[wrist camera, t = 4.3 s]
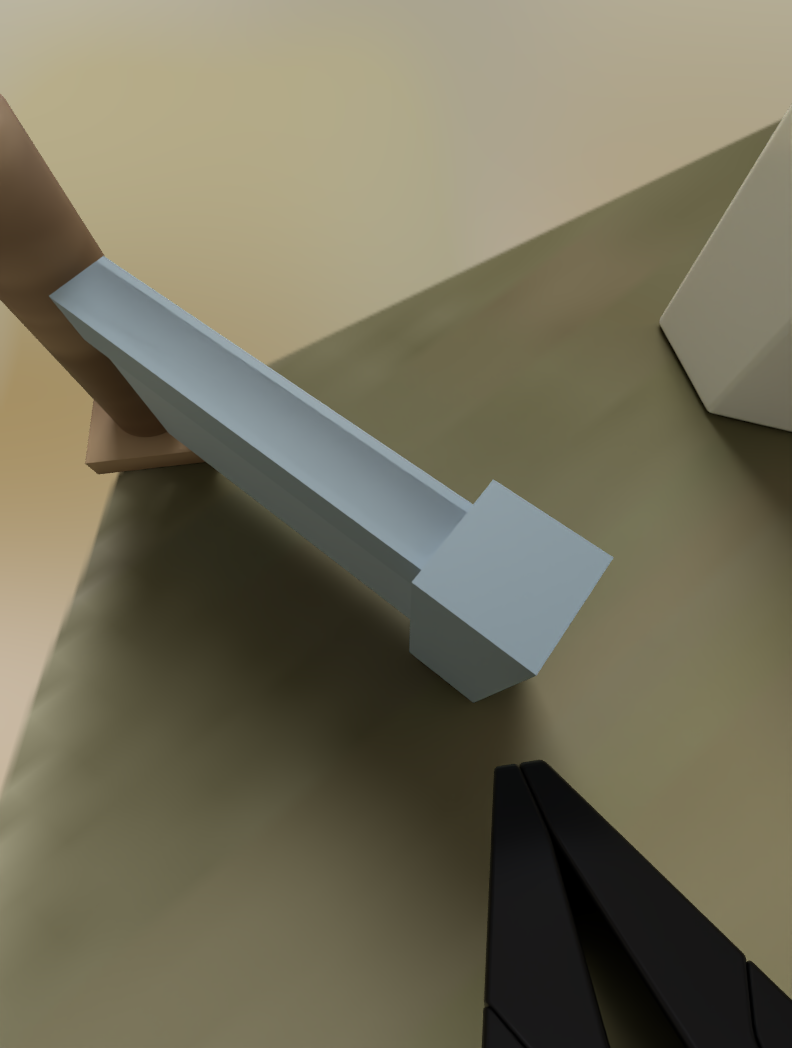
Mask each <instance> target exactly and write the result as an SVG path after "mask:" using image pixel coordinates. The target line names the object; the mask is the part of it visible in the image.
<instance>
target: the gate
mask: <svg viewBox="0 0 792 1048" xmlns="http://www.w3.org/2000/svg"><path fill="white" fill-rule="evenodd" d="M49 297H50V298H51V300H52V301H53V302H54V303H55V305H56V306H57V307H58V308H59V309H60V311H61V312H62V313H63V314H64V315H65V317H66V318H67V319H68V320H69V322H70V323H71V324H72V325H73V326H74V328H75V329H76V330H77V331H78V333H79V334H80V335H81V336H82V337H83V339H84V340H85V341H87V342H88V343H89V344H91V345H92V346H93V347H95V348H96V349H97V350H99V351H100V352H101V353H103V354H104V355H105V356H107V357H108V358H109V359H110V360H111V361H112V362H113V364H114V365H115V366H116V367H117V369H118V370H119V371H120V372H121V374H122V375H123V376H124V378H125V379H126V380H127V381H128V383H129V384H130V385H131V386H132V388H133V389H134V390H135V391H136V393H137V394H138V395H139V396H140V398H141V399H142V400H143V401H144V403H145V404H146V405H147V406H148V408H149V409H150V410H151V412H152V413H153V414H154V415H155V417H156V418H157V419H158V420H159V422H160V423H161V424H162V425H163V427H164V428H165V429H166V430H167V432H168V433H169V434H170V435H172V436H173V437H174V438H176V439H177V440H178V441H179V442H181V443H182V444H183V445H185V446H186V447H187V448H189V449H190V450H191V451H192V452H194V453H195V454H196V455H198V456H199V457H200V458H201V459H203V460H204V461H205V462H207V463H208V464H209V465H211V466H212V467H213V468H214V469H216V470H217V471H218V472H220V473H221V474H222V475H224V476H225V477H226V478H227V479H229V480H230V481H231V482H233V483H234V484H235V485H237V486H238V487H239V488H240V489H242V490H243V491H244V492H246V493H247V494H248V495H249V496H251V497H252V498H253V499H255V500H256V501H257V502H259V503H260V504H261V505H262V506H264V507H265V508H266V509H268V510H269V511H270V512H272V513H273V514H274V515H275V516H277V517H278V518H279V519H281V520H282V521H283V522H285V523H286V524H287V525H288V526H290V527H291V528H292V529H294V530H295V531H296V532H298V533H299V534H300V535H301V536H303V537H304V538H305V539H307V540H308V541H309V542H310V543H312V544H313V545H314V546H316V547H317V548H318V549H320V550H321V551H322V552H323V553H325V554H326V555H327V556H329V557H330V558H331V559H333V560H334V561H335V562H336V563H338V564H339V565H340V566H342V567H343V568H344V569H346V570H347V571H348V572H349V573H351V574H352V575H353V576H355V577H356V578H357V579H358V580H360V581H361V582H362V583H364V584H365V585H366V586H368V587H369V588H370V589H371V590H373V591H374V592H375V593H377V594H378V595H379V596H381V597H382V598H383V599H384V600H386V601H387V602H388V603H390V604H391V605H392V606H394V607H395V608H396V609H397V610H399V611H400V612H401V613H403V614H404V615H405V616H406V617H408V618H409V619H410V641H409V652H410V653H411V654H412V655H414V656H415V657H416V658H417V659H419V660H420V661H421V662H422V663H424V664H425V665H426V666H427V667H429V668H430V669H431V670H433V671H434V672H435V673H436V674H438V675H439V676H440V677H441V678H443V679H444V680H445V681H446V682H448V683H449V684H450V685H451V686H453V687H454V688H455V689H457V690H458V691H459V692H460V693H462V694H463V695H464V696H465V697H467V698H468V699H469V700H470V701H472V702H473V703H474V702H477V701H479V700H481V699H483V698H486V697H488V696H490V695H493V694H495V693H497V692H500V691H502V690H504V689H506V688H509V687H511V686H513V685H516V684H518V683H520V682H522V681H525V680H527V679H529V678H532V677H534V676H536V675H537V674H538V672H539V671H540V669H541V668H542V666H543V665H544V663H545V661H546V660H547V658H548V657H549V655H550V654H551V652H552V651H553V649H554V648H555V646H556V645H557V643H558V642H559V640H560V639H561V637H562V635H563V634H564V632H565V631H566V629H567V628H568V626H569V625H570V623H571V622H572V620H573V619H574V617H575V616H576V614H577V613H578V611H579V610H580V608H581V606H582V605H583V603H584V602H585V600H586V599H587V597H588V596H589V594H590V593H591V591H592V590H593V588H594V587H595V585H596V584H597V582H598V581H599V579H600V577H601V576H602V574H603V573H604V571H605V570H606V568H607V567H608V565H609V564H610V562H611V561H612V559H613V557H612V556H610V555H609V554H607V553H606V552H604V551H603V550H601V549H600V548H598V547H597V546H595V545H593V544H592V543H590V542H589V541H587V540H586V539H584V538H583V537H581V536H580V535H578V534H577V533H575V532H573V531H572V530H570V529H569V528H567V527H566V526H564V525H563V524H561V523H560V522H558V521H556V520H555V519H553V518H552V517H550V516H549V515H547V514H546V513H544V512H543V511H541V510H540V509H538V508H536V507H535V506H533V505H532V504H530V503H529V502H527V501H526V500H524V499H523V498H521V497H520V496H518V495H516V494H515V493H513V492H512V491H510V490H509V489H507V488H506V487H504V486H503V485H501V484H500V483H498V482H496V481H495V480H492V482H491V483H490V484H489V486H488V487H487V488H486V489H485V491H484V492H483V493H482V494H481V496H480V497H479V498H478V499H477V501H476V502H475V503H474V504H471V503H470V502H468V501H467V500H465V499H464V498H463V497H461V496H460V495H458V494H457V493H455V492H454V491H452V490H451V489H449V488H448V487H446V486H445V485H443V484H442V483H440V482H439V481H437V480H436V479H434V478H433V477H431V476H430V475H428V474H427V473H425V472H424V471H422V470H421V469H419V468H418V467H416V466H415V465H413V464H412V463H410V462H409V461H407V460H406V459H405V458H403V457H402V456H400V455H399V454H397V453H396V452H394V451H393V450H391V449H390V448H388V447H387V446H385V445H384V444H382V443H381V442H379V441H378V440H376V439H375V438H373V437H372V436H370V435H369V434H367V433H366V432H364V431H363V430H361V429H360V428H358V427H357V426H355V425H354V424H352V423H351V422H350V421H348V420H347V419H345V418H344V417H342V416H341V415H339V414H338V413H336V412H335V411H333V410H332V409H330V408H329V407H327V406H326V405H324V404H323V403H321V402H320V401H318V400H317V399H315V398H314V397H312V396H311V395H309V394H308V393H306V392H305V391H303V390H302V389H300V388H299V387H297V386H296V385H295V384H293V383H292V382H290V381H289V380H287V379H286V378H284V377H283V376H281V375H280V374H278V373H277V372H275V371H274V370H272V369H271V368H269V367H268V366H266V365H265V364H263V363H262V362H260V361H259V360H257V359H256V358H254V357H253V356H251V355H250V354H248V353H247V352H245V351H244V350H242V349H241V348H239V347H238V346H237V345H235V344H234V343H232V342H231V341H229V340H228V339H226V338H224V337H223V336H222V335H220V334H219V333H217V332H216V331H214V330H213V329H211V328H210V327H208V326H207V325H205V324H204V323H202V322H201V321H199V320H198V319H196V318H195V317H193V316H192V315H190V314H189V313H187V312H186V311H184V310H183V309H181V308H180V307H178V306H177V305H175V304H174V303H173V302H171V301H170V300H168V299H167V298H165V297H164V296H162V295H161V294H159V293H158V292H156V291H155V290H153V289H152V288H150V287H149V286H147V285H146V284H144V283H143V282H141V281H140V280H138V279H137V278H135V277H134V276H132V275H131V274H129V273H128V272H126V271H125V270H124V269H122V268H121V267H119V266H117V265H116V264H114V263H113V262H111V261H110V260H109V259H107V258H106V257H104V256H102V257H101V258H100V259H98V260H97V261H96V262H94V263H93V264H92V265H90V266H89V267H87V268H86V269H85V270H83V271H82V272H81V273H79V274H78V275H77V276H75V277H74V278H72V279H71V280H70V281H68V282H67V283H66V284H64V285H63V286H62V287H60V288H59V289H57V290H56V291H55V292H53V293H52V294H51V295H49Z"/></svg>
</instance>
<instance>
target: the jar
mask: <svg viewBox="0 0 792 1048" xmlns="http://www.w3.org/2000/svg"><path fill="white" fill-rule="evenodd" d="M659 322H660V326H661V328H662V330H663V332H664V333H665V335H666V337H667V339H668V341H669V342H670V344H671V346H672V348H673V350H674V351H675V353H676V355H677V357H678V359H679V361H680V362H681V364H682V366H683V368H684V370H685V371H686V373H687V375H688V377H689V379H690V381H691V382H692V384H693V386H694V388H695V390H696V391H697V393H698V395H699V397H700V399H701V401H702V402H703V404H704V406H705V408H706V410H707V411H708V412H710V413H713V414H717V415H721V416H726V417H730V418H734V419H738V420H743V421H747V422H751V423H756V424H760V425H764V426H768V427H773V428H777V429H781V430H786V431H790V432H792V104H791V106H790V107H789V109H788V111H787V112H786V114H785V116H784V117H783V119H782V120H781V122H780V124H779V125H778V127H777V129H776V130H775V132H774V133H773V135H772V137H771V138H770V140H769V142H768V143H767V145H766V146H765V148H764V150H763V151H762V153H761V155H760V156H759V158H758V160H757V161H756V163H755V164H754V166H753V168H752V169H751V171H750V173H749V174H748V176H747V177H746V179H745V181H744V182H743V184H742V186H741V187H740V189H739V191H738V192H737V194H736V195H735V197H734V199H733V200H732V202H731V204H730V205H729V207H728V208H727V210H726V212H725V213H724V215H723V217H722V218H721V220H720V222H719V223H718V225H717V226H716V228H715V230H714V231H713V233H712V235H711V236H710V238H709V239H708V241H707V243H706V244H705V246H704V248H703V249H702V251H701V253H700V254H699V256H698V257H697V259H696V261H695V262H694V264H693V266H692V267H691V269H690V270H689V272H688V274H687V275H686V277H685V279H684V280H683V282H682V284H681V285H680V287H679V288H678V290H677V292H676V293H675V295H674V297H673V298H672V300H671V301H670V303H669V305H668V306H667V308H666V310H665V311H664V313H663V315H662V316H661V318H660V321H659Z"/></svg>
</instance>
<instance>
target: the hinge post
mask: <svg viewBox="0 0 792 1048" xmlns="http://www.w3.org/2000/svg"><path fill="white" fill-rule="evenodd" d="M102 256H104V254H103V253H102V251H101V249H100V248H99V246H98V245H97V243H96V242H95V240H94V238H93V237H92V235H91V234H90V232H89V230H88V229H87V227H86V226H85V224H84V223H83V221H82V219H81V218H80V216H79V215H78V213H77V212H76V210H75V208H74V207H73V205H72V204H71V202H70V201H69V199H68V197H67V196H66V194H65V193H64V191H63V190H62V188H61V186H60V185H59V183H58V182H57V180H56V179H55V177H54V175H53V174H52V172H51V171H50V169H49V167H48V166H47V164H46V163H45V161H44V160H43V158H42V156H41V155H40V153H39V152H38V150H37V149H36V147H35V145H34V144H33V142H32V141H31V139H30V137H29V136H28V134H27V133H26V131H25V129H24V128H23V126H22V125H21V123H20V122H19V120H18V118H17V117H16V115H15V114H14V112H13V111H12V109H11V108H10V106H9V104H8V103H7V101H6V99H5V98H4V97H3V96H2V95H1V94H0V300H1V301H2V302H3V303H4V304H5V305H6V306H7V307H8V309H10V311H11V312H12V313H13V314H14V315H15V316H16V317H17V318H18V319H19V320H20V321H21V322H22V323H23V324H24V326H25V327H27V329H28V330H29V331H30V332H31V333H32V334H33V335H34V336H35V337H36V338H37V339H38V340H39V342H40V343H41V344H42V345H43V346H44V347H45V348H46V349H47V350H48V351H49V352H50V353H51V354H52V355H53V356H54V357H55V359H56V360H57V361H58V362H59V363H60V364H61V365H62V366H63V367H64V368H65V369H66V370H67V371H68V372H69V373H70V375H71V376H72V377H73V378H74V379H75V380H76V381H77V382H78V383H79V384H80V385H81V386H82V387H83V388H84V389H85V390H86V392H87V393H88V394H89V395H90V396H91V397H92V398H93V399H94V401H93V409H92V416H91V424H90V432H89V439H88V446H87V454H86V462H85V463H86V464H87V465H88V466H89V467H90V468H91V469H92V470H94V471H95V472H96V473H97V474H105V473H114V472H123V471H131V470H140V469H149V468H158V467H166V466H175V465H184V464H193V463H201V462H205V461H204V460H203V459H201V458H200V457H199V456H198V455H196V454H195V453H194V452H192V451H191V450H190V449H189V448H187V447H186V446H185V445H183V444H182V443H181V442H179V441H178V440H177V439H176V438H174V437H173V436H172V435H170V434H169V433H168V432H167V430H166V429H165V428H164V427H163V425H162V424H161V423H160V422H159V420H158V419H157V418H156V417H155V415H154V414H153V413H152V412H151V410H150V409H149V408H148V406H147V405H146V404H145V403H144V401H143V400H142V399H141V398H140V396H139V395H138V394H137V393H136V391H135V390H134V389H133V388H132V386H131V385H130V384H129V383H128V381H127V380H126V379H125V378H124V376H123V375H122V374H121V372H120V371H119V370H118V369H117V367H116V366H115V365H114V364H113V362H112V361H111V360H110V359H109V358H108V357H107V356H105V355H104V354H103V353H101V352H100V351H99V350H97V349H96V348H95V347H93V346H92V345H91V344H89V343H88V342H87V341H85V340H84V339H83V337H82V336H81V335H80V334H79V333H78V331H77V330H76V329H75V328H74V326H73V325H72V324H71V323H70V322H69V320H68V319H67V318H66V317H65V315H64V314H63V313H62V312H61V311H60V309H59V308H58V307H57V306H56V305H55V303H54V302H53V301H52V300H51V298H50V297H49V295H51V294H52V293H53V292H55V291H56V290H57V289H59V288H60V287H62V286H63V285H64V284H66V283H67V282H68V281H70V280H71V279H72V278H74V277H75V276H77V275H78V274H79V273H81V272H82V271H83V270H85V269H86V268H87V267H89V266H90V265H92V264H93V263H94V262H96V261H97V260H98V259H100V258H101V257H102ZM104 257H105V256H104Z"/></svg>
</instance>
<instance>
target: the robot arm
mask: <svg viewBox="0 0 792 1048" xmlns="http://www.w3.org/2000/svg"><path fill="white" fill-rule="evenodd" d="M484 1006H485V1008H484V1010H483V1029H482V1048H792V1000H791V999H790V998H789V997H788V996H787V995H786V994H785V993H784V992H783V991H782V990H781V989H780V988H779V987H778V986H777V985H776V984H775V983H774V982H773V981H772V980H770V979H769V978H768V977H767V976H766V975H765V974H764V973H763V972H762V971H761V970H760V969H759V968H758V967H757V966H756V965H755V964H754V963H753V962H752V961H747V962H746V957H745V955H744V954H743V953H742V952H741V951H740V950H739V949H738V948H737V947H736V946H735V945H734V944H733V943H732V942H731V941H730V940H729V939H728V938H727V937H726V936H725V935H724V934H723V933H722V932H721V931H720V930H719V929H718V928H717V927H716V926H715V925H714V924H713V923H712V922H710V921H709V920H708V919H707V918H706V917H705V916H704V915H703V914H702V913H701V912H700V911H699V910H698V909H697V908H696V907H695V906H694V905H693V904H692V903H691V902H690V901H689V900H688V899H687V898H686V897H685V896H684V895H683V894H682V893H681V892H680V891H678V890H677V889H676V888H675V887H674V886H673V885H672V884H671V883H670V882H669V881H668V880H667V879H666V878H665V877H664V876H663V875H662V874H661V873H660V872H659V871H658V870H657V869H656V868H655V867H654V866H653V865H652V864H651V863H650V862H649V861H648V860H647V859H645V858H644V857H643V856H642V855H641V854H640V853H639V852H638V851H637V850H636V849H635V848H634V847H633V846H632V845H631V844H630V843H629V842H628V841H627V840H626V839H625V838H624V837H623V836H622V835H621V834H620V833H619V832H618V831H617V830H616V829H615V828H614V827H612V826H611V825H610V824H609V823H608V822H607V821H606V820H605V819H604V818H603V817H602V816H601V815H600V814H599V813H598V812H597V811H596V810H595V809H594V808H593V807H592V806H591V805H590V804H589V803H588V802H587V801H586V800H585V799H584V798H583V797H582V796H581V795H579V794H578V793H577V792H576V791H575V790H574V789H573V788H572V787H571V786H570V785H569V784H568V783H567V782H566V781H565V780H564V779H563V778H562V777H561V776H560V775H559V774H558V773H557V772H556V771H555V770H554V769H553V768H552V767H551V766H550V765H549V764H547V763H546V762H545V761H543V760H536V761H529V762H523V763H521V764H520V766H518V765H517V764H510V765H504V766H498V767H496V768H495V769H494V784H493V807H492V830H491V853H490V876H489V899H488V922H487V945H486V968H485V991H484Z"/></svg>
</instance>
